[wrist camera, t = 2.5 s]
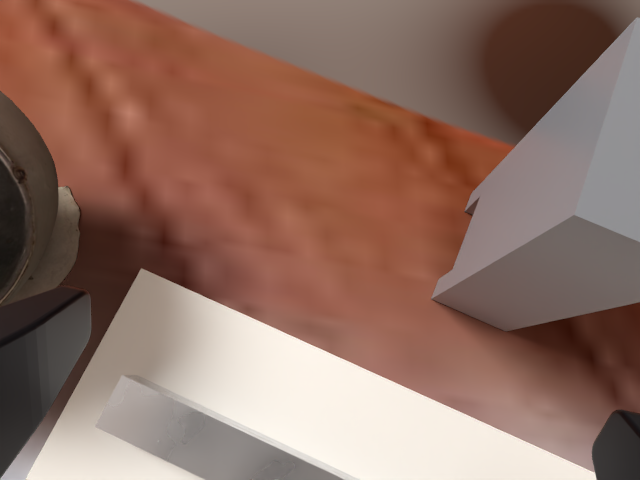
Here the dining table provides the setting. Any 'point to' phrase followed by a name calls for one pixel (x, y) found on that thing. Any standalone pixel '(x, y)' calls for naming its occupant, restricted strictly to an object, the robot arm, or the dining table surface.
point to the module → (560, 208)
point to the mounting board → (272, 402)
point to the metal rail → (202, 437)
